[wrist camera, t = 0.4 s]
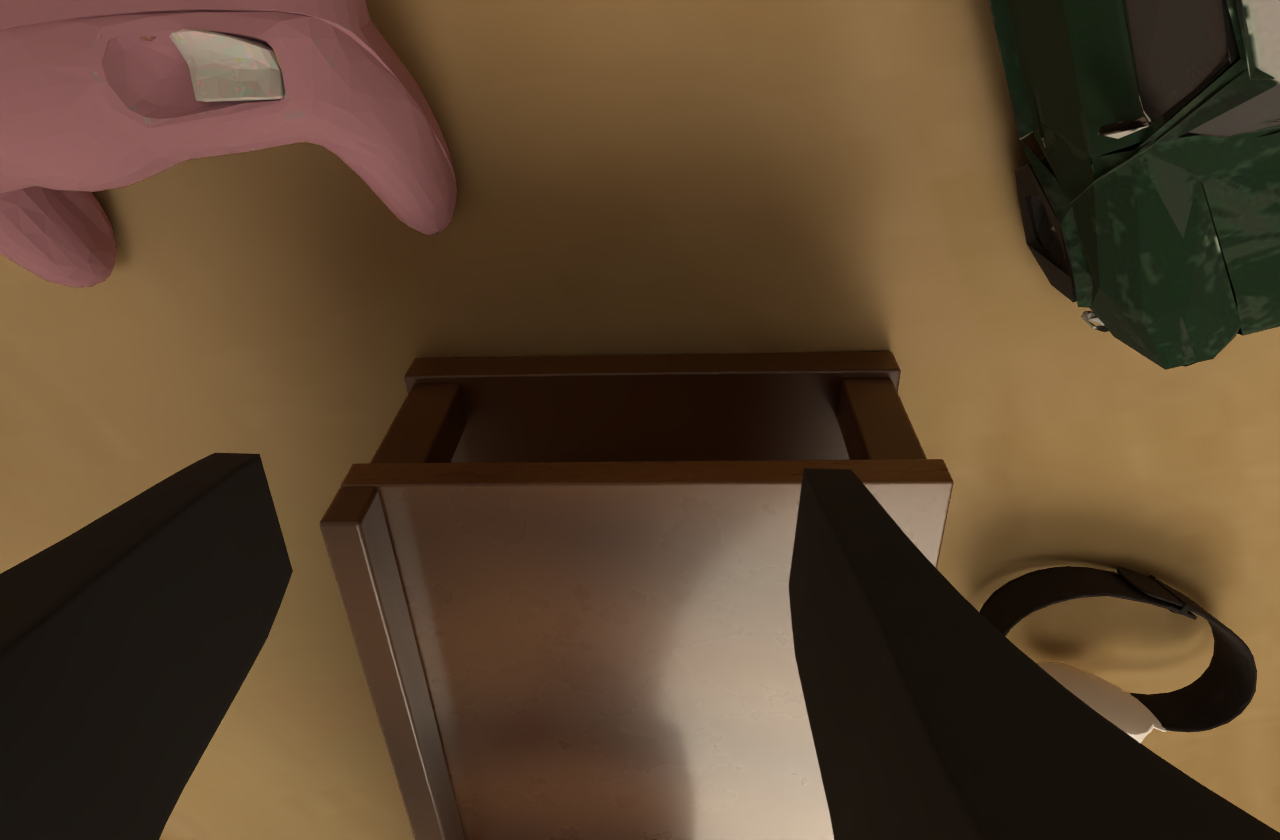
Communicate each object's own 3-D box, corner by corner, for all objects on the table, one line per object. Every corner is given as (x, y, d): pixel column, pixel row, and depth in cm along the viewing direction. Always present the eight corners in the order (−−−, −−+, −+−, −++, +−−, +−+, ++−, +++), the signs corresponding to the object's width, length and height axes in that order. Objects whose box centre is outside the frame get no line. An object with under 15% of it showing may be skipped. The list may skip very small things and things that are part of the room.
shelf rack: (836, 762, 29) (874, 972, 23) (494, 758, 30) (450, 961, 24) (892, 350, 21) (973, 521, 15) (413, 357, 21) (317, 523, 16)
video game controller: (452, 29, 19) (286, -158, 12) (482, 236, 19) (336, 174, 12) (52, 102, 20) (-315, -28, 13) (86, 295, 20) (-253, 269, 13)
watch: (939, 642, 26) (974, 743, 23) (1012, 528, 23) (1063, 624, 20) (1165, 693, 27) (1228, 797, 23) (1259, 588, 24) (1343, 688, 21)
